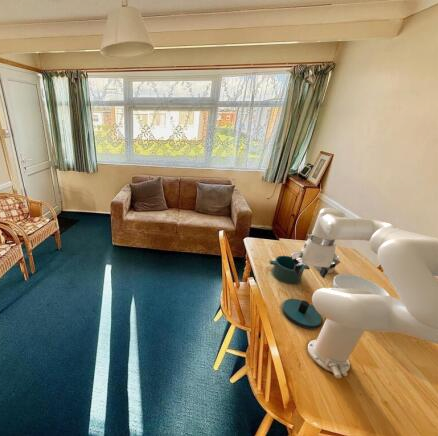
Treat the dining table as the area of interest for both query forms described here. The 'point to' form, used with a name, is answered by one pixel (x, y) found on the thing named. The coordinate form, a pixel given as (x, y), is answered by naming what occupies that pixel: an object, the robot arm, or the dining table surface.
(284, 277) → the pot
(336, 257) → the mug
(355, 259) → the dining table surface
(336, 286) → the serving bowl
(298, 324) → the mat
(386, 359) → the dining table surface
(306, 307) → the lid
